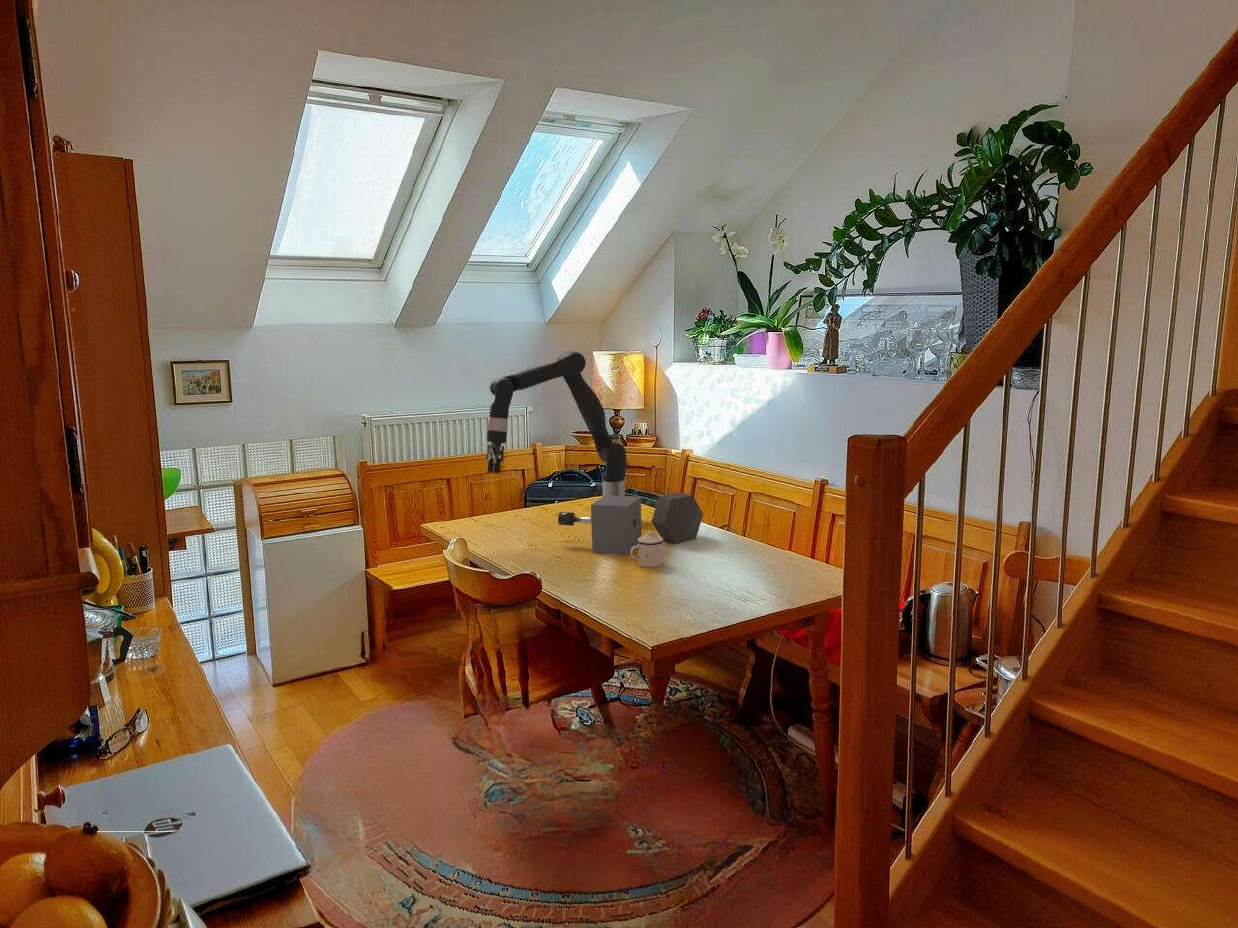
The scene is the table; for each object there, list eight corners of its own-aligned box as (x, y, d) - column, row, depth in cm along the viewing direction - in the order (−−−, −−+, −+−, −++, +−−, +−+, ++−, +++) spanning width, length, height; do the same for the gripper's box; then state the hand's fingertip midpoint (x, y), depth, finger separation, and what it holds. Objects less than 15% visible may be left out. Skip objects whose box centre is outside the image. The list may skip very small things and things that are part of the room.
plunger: (563, 523, 329) (562, 510, 328) (610, 526, 323) (609, 513, 322) (558, 526, 324) (557, 513, 323) (605, 529, 318) (605, 516, 317)
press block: (606, 541, 330) (605, 495, 327) (641, 543, 326) (640, 496, 323) (592, 552, 315) (590, 504, 312) (628, 554, 311) (627, 506, 308)
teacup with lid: (658, 559, 304) (657, 527, 302) (668, 566, 296) (667, 533, 294) (626, 563, 301) (625, 531, 299) (635, 570, 292) (634, 537, 290)
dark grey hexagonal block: (696, 520, 339) (673, 481, 329) (709, 524, 333) (686, 484, 323) (668, 549, 332) (644, 511, 323) (681, 554, 326) (657, 514, 317)
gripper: (512, 431, 323) (508, 474, 323) (501, 431, 336) (497, 472, 336) (493, 429, 320) (488, 472, 320) (482, 429, 333) (478, 470, 333)
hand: (493, 472), depth 328 cm, fingers open, 8 cm apart
